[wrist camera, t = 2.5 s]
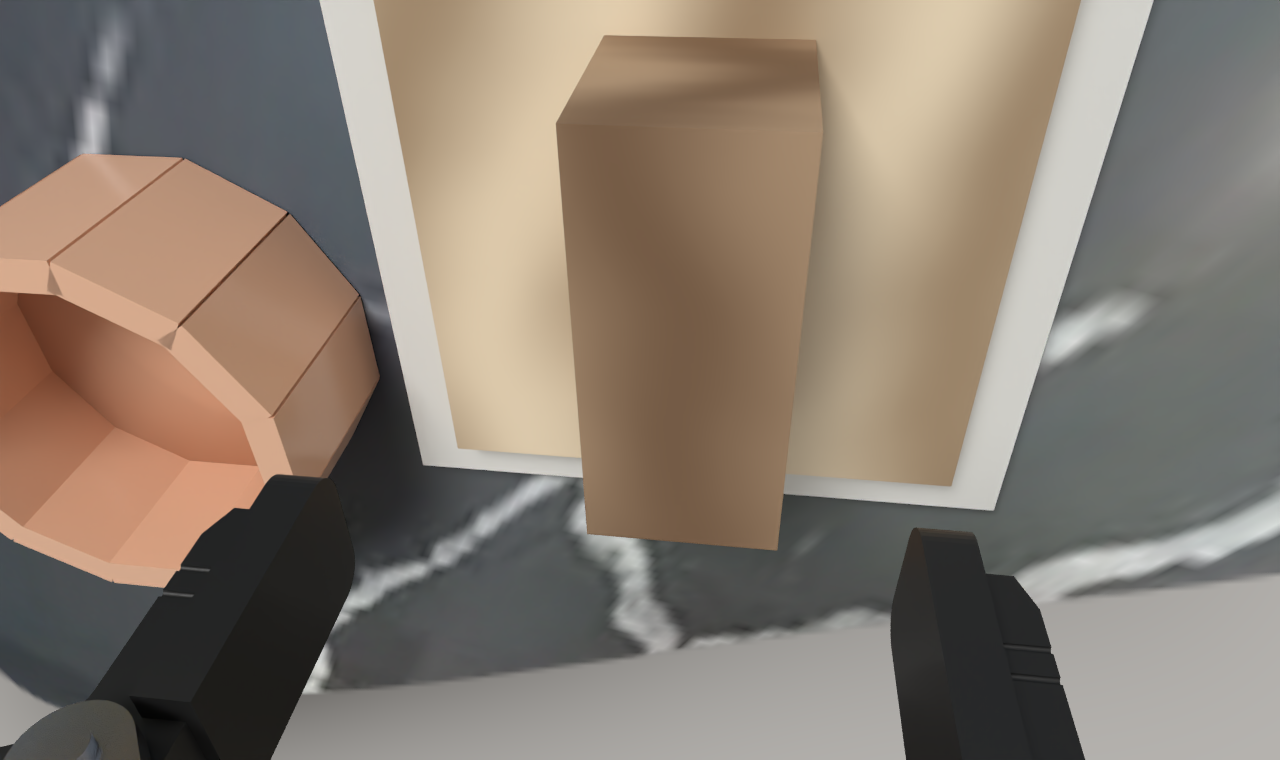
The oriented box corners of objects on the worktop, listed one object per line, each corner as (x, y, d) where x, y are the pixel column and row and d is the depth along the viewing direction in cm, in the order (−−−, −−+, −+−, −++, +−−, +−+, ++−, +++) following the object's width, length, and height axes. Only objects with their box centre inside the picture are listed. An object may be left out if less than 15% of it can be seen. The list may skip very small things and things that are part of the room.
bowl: (328, 163, 21) (222, 270, 17) (403, 473, 27) (337, 604, 23) (-54, 148, 22) (-235, 245, 18) (100, 448, 28) (-11, 570, 24)
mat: (1199, -193, 15) (1213, -189, 14) (989, 495, 25) (993, 510, 24) (293, -186, 17) (278, -183, 16) (429, 451, 26) (423, 464, 26)
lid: (1089, -87, 16) (1199, -7, 11) (946, 465, 23) (981, 631, 19) (374, -91, 17) (238, -22, 13) (466, 429, 25) (401, 576, 21)
